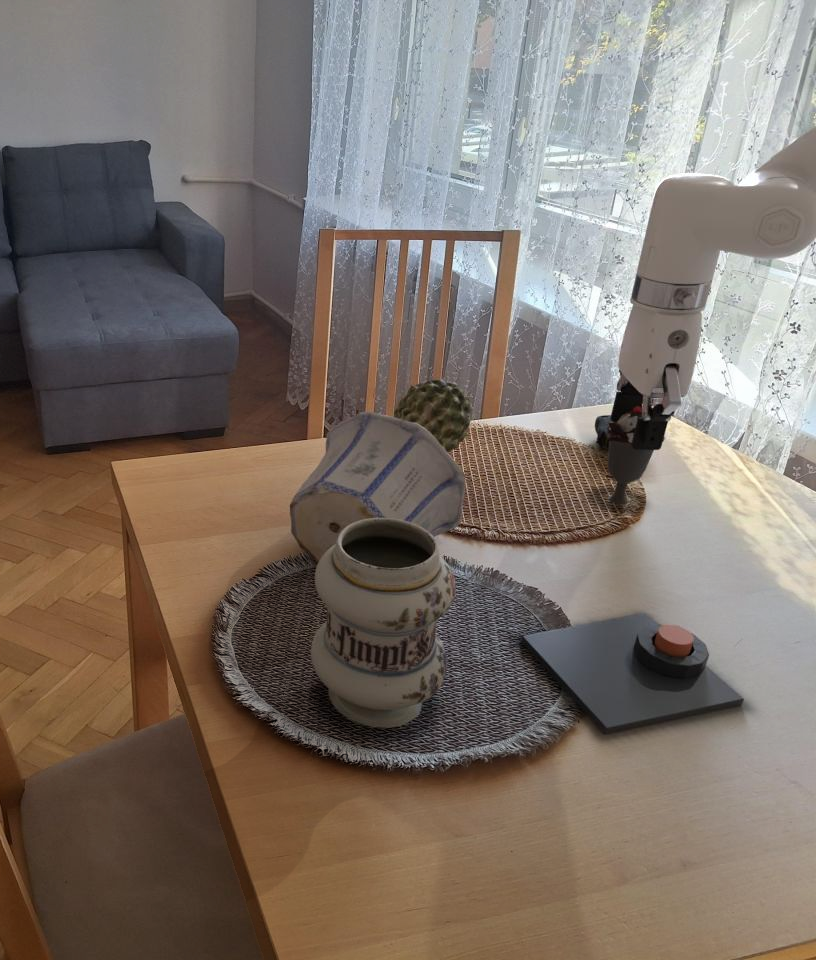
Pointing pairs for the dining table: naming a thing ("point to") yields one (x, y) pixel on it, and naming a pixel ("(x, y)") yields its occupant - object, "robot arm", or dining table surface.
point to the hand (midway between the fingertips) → (634, 433)
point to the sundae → (625, 454)
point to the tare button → (674, 640)
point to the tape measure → (602, 431)
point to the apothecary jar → (382, 620)
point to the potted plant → (388, 469)
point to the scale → (629, 673)
